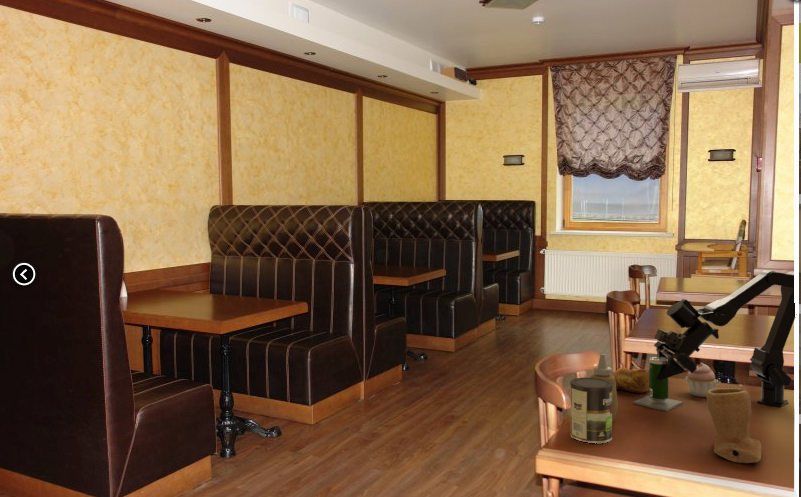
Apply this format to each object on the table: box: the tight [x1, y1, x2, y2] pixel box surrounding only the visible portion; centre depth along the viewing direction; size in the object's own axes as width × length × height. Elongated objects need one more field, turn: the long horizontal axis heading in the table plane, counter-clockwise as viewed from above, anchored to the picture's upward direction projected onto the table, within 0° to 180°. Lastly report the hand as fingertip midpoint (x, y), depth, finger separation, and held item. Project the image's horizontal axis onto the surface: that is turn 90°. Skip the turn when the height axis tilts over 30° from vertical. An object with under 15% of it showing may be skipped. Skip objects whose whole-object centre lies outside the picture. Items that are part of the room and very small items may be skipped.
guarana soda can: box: [648, 356, 670, 401], centre depth 192 cm, size 5×5×12 cm
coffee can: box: [569, 377, 613, 445], centre depth 166 cm, size 10×10×14 cm
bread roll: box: [613, 367, 649, 394], centre depth 208 cm, size 13×10×8 cm
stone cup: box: [705, 387, 762, 464], centre depth 154 cm, size 15×12×15 cm
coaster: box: [633, 394, 683, 412], centre depth 193 cm, size 10×10×1 cm
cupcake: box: [685, 362, 719, 398], centre depth 201 cm, size 9×9×10 cm
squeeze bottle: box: [589, 353, 619, 422], centre depth 179 cm, size 8×8×18 cm
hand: (654, 376), depth 192 cm, fingers closed on guarana soda can, 5 cm apart
